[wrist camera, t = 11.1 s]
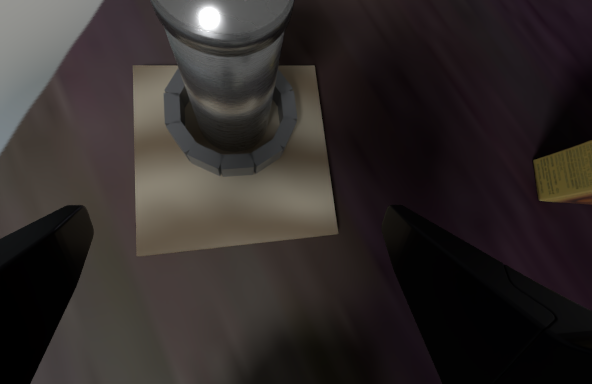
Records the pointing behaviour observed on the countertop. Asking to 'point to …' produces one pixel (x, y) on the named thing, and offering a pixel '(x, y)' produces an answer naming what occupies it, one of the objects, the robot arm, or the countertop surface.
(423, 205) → the countertop surface
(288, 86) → the collar
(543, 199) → the candy box
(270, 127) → the duct board
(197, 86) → the metal canister
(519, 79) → the countertop surface
